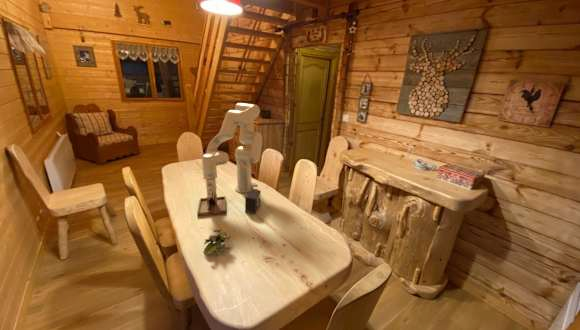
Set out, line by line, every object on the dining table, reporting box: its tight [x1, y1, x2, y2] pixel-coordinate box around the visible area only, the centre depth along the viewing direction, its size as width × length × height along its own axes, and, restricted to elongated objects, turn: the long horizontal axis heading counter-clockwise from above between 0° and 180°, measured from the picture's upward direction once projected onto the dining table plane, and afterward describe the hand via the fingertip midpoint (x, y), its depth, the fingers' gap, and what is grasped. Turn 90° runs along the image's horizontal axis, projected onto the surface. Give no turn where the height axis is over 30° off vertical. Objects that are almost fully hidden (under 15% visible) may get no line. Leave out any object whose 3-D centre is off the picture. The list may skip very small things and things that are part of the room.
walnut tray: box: [196, 196, 227, 217], centre depth 144 cm, size 16×18×2 cm
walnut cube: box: [205, 192, 218, 206], centre depth 143 cm, size 6×6×6 cm
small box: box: [244, 189, 262, 215], centre depth 143 cm, size 11×6×10 cm, turn 168°
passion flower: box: [203, 228, 231, 255], centre depth 109 cm, size 11×11×12 cm
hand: (212, 202), depth 143 cm, fingers closed on walnut cube, 5 cm apart
